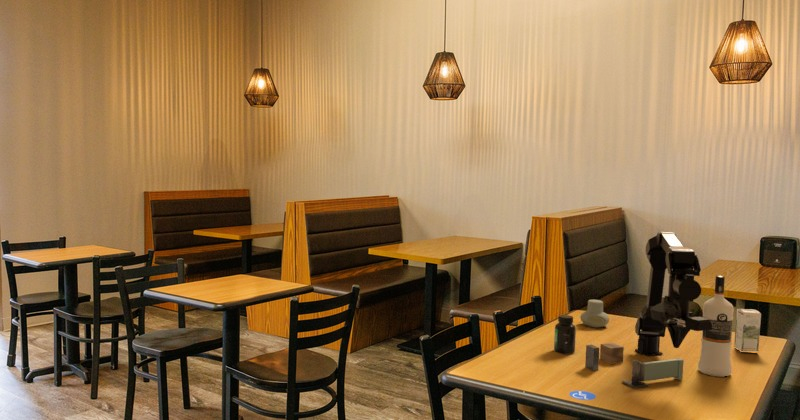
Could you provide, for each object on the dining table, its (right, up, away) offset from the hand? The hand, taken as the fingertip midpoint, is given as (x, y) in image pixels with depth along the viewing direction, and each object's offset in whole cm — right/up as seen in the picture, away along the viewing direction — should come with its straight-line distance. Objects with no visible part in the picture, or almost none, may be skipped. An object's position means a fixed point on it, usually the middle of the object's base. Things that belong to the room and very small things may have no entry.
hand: (676, 347), depth 178 cm
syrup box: (+41, -10, +39) cm, 58 cm away
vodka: (+18, -11, +14) cm, 26 cm away
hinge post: (-11, -11, +1) cm, 16 cm away
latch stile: (-19, -10, +15) cm, 27 cm away
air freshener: (-2, -7, +70) cm, 70 cm away
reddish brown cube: (-10, -10, +24) cm, 28 cm away
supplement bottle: (-23, -9, +33) cm, 41 cm away
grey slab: (-3, -11, +5) cm, 12 cm away
